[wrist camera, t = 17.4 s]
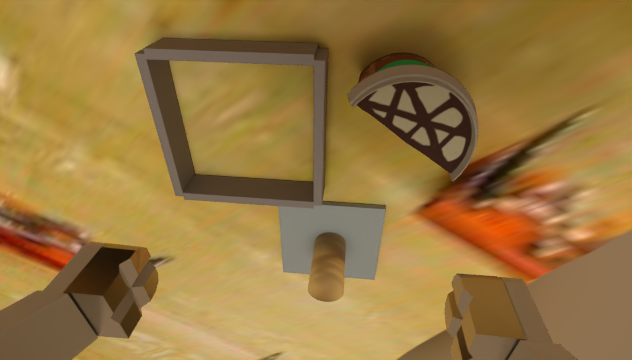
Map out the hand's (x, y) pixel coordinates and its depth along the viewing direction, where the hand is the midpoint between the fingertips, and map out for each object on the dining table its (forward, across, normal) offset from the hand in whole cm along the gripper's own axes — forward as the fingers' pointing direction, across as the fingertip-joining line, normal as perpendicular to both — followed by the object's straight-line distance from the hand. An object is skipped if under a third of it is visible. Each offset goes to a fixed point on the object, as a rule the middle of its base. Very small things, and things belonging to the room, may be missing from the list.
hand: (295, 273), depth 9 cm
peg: (+29, +1, +29) cm, 41 cm away
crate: (+29, +11, +11) cm, 33 cm away
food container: (+30, -7, +5) cm, 31 cm away
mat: (+30, +1, +29) cm, 41 cm away
